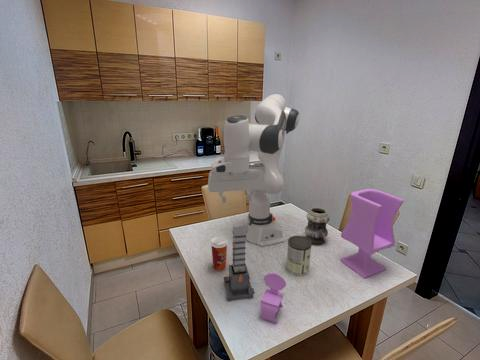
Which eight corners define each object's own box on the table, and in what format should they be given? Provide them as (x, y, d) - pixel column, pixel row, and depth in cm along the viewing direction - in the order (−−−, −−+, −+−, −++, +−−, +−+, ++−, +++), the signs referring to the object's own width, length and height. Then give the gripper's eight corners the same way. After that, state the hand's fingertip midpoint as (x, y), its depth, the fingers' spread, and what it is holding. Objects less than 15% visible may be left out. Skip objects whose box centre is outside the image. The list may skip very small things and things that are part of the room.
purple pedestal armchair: (364, 280, 110) (379, 206, 99) (337, 260, 123) (347, 192, 112) (388, 270, 116) (405, 199, 105) (360, 252, 129) (372, 187, 118)
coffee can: (287, 259, 123) (289, 233, 119) (309, 264, 120) (312, 237, 116) (284, 272, 114) (286, 245, 110) (307, 278, 111) (311, 250, 106)
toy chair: (256, 317, 91) (258, 283, 86) (264, 300, 99) (266, 267, 94) (279, 325, 88) (282, 290, 83) (285, 307, 96) (288, 274, 91)
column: (243, 265, 103) (243, 225, 97) (245, 272, 99) (245, 231, 93) (232, 266, 102) (232, 226, 96) (234, 273, 98) (234, 232, 92)
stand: (248, 279, 110) (249, 258, 106) (254, 298, 100) (255, 276, 96) (223, 282, 108) (223, 261, 104) (227, 301, 98) (226, 279, 94)
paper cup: (221, 274, 113) (221, 247, 108) (207, 268, 116) (206, 241, 112) (231, 265, 119) (231, 238, 114) (218, 259, 123) (217, 234, 118)
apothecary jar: (322, 234, 146) (326, 205, 140) (329, 246, 134) (334, 215, 129) (301, 234, 145) (304, 205, 140) (307, 246, 134) (310, 215, 128)
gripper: (263, 160, 93) (262, 196, 97) (206, 163, 89) (208, 199, 94) (268, 165, 87) (266, 202, 91) (208, 168, 83) (209, 206, 88)
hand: (236, 201), depth 93 cm, fingers open, 8 cm apart
